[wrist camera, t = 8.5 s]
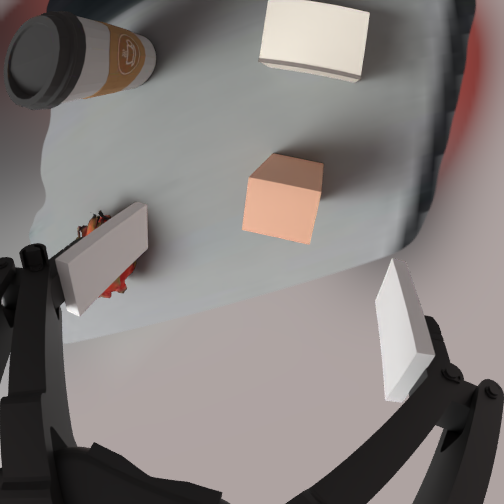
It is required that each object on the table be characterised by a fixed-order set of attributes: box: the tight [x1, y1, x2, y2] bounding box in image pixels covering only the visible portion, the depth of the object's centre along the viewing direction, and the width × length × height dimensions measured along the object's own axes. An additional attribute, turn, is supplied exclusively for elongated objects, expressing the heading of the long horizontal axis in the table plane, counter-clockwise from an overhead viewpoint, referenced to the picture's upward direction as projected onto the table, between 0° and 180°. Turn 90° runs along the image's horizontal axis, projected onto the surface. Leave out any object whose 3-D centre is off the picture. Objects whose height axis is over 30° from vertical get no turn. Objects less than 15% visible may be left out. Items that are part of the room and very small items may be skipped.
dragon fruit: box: [76, 211, 136, 298], centre depth 37 cm, size 8×8×12 cm
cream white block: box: [258, 0, 370, 83], centre depth 22 cm, size 6×8×5 cm
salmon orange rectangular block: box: [242, 153, 323, 244], centre depth 27 cm, size 4×5×10 cm
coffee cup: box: [4, 11, 156, 110], centre depth 22 cm, size 8×8×15 cm
